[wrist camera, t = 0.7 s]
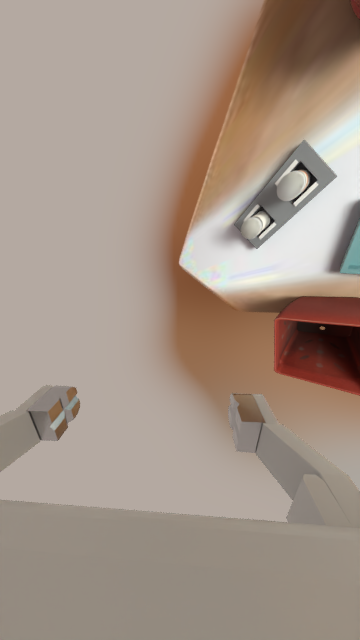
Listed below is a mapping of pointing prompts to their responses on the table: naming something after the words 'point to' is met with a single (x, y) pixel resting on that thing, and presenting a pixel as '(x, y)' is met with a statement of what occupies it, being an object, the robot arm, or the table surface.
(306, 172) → the grey capped cylinder
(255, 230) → the fuse
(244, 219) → the fuse block
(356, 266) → the tray
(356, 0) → the canister
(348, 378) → the plant pot
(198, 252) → the table surface
